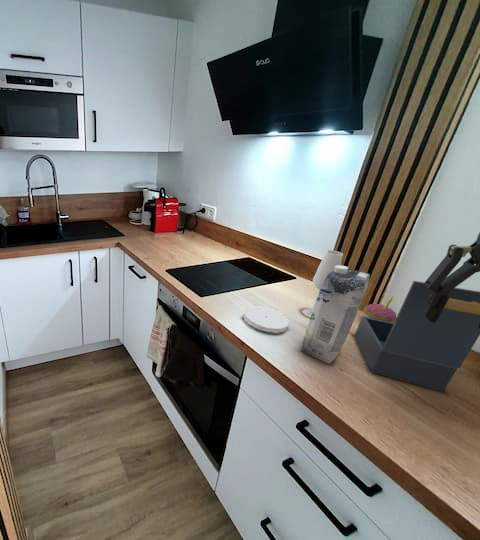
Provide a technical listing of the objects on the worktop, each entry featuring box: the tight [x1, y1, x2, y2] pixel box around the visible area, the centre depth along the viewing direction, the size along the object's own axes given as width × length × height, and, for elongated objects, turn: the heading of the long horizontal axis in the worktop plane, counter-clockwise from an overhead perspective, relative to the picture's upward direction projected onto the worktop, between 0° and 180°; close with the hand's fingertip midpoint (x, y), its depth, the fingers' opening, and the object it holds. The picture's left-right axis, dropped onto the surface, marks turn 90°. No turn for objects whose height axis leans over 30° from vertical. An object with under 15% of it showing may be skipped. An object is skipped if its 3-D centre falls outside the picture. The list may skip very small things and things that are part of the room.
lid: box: [382, 280, 480, 370], centre depth 66 cm, size 20×15×6 cm
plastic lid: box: [243, 305, 290, 334], centre depth 97 cm, size 14×14×2 cm
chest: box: [354, 316, 458, 392], centre depth 81 cm, size 19×15×7 cm
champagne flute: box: [301, 249, 344, 319], centre depth 99 cm, size 7×7×24 cm
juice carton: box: [301, 264, 371, 364], centre depth 79 cm, size 9×10×27 cm
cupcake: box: [363, 296, 398, 323], centre depth 97 cm, size 9×8×12 cm
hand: (456, 324), depth 62 cm, fingers closed on lid, 8 cm apart
